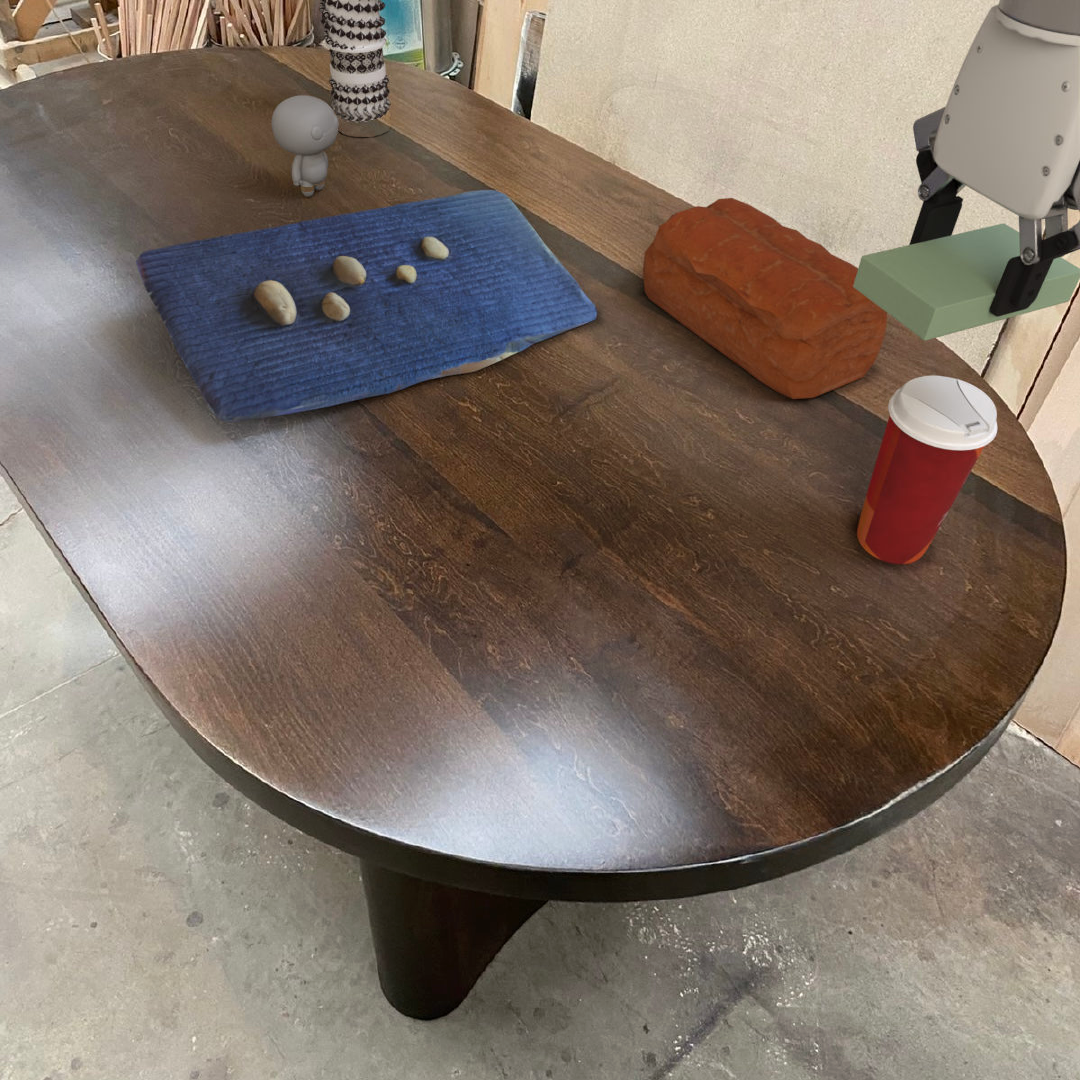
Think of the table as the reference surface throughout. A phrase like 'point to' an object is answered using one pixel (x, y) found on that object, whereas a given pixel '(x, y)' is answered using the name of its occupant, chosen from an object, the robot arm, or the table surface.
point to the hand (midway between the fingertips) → (965, 280)
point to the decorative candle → (356, 58)
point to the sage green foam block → (953, 281)
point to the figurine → (306, 137)
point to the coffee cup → (923, 464)
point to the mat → (359, 302)
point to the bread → (764, 297)
